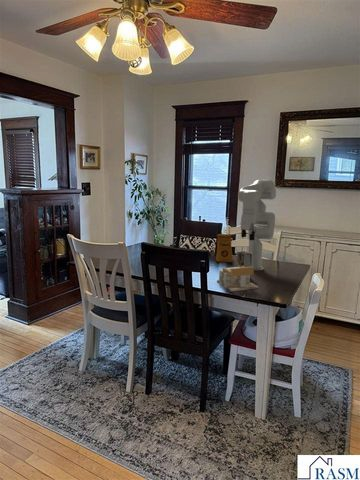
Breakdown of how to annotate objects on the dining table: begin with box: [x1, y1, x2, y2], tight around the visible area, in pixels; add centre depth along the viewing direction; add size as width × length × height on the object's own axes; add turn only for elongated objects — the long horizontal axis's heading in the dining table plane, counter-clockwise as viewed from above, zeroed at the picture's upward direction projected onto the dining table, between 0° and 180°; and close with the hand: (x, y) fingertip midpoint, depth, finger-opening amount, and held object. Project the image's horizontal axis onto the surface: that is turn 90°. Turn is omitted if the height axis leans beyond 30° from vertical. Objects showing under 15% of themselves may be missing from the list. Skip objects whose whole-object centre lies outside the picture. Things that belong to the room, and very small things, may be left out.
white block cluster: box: [216, 266, 259, 292], centre depth 201 cm, size 19×18×9 cm
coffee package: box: [215, 233, 233, 263], centre depth 257 cm, size 10×12×22 cm
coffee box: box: [235, 251, 252, 279], centre depth 219 cm, size 9×6×16 cm
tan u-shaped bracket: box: [222, 266, 255, 276], centre depth 200 cm, size 12×14×4 cm
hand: (247, 238), depth 207 cm, fingers open, 9 cm apart
